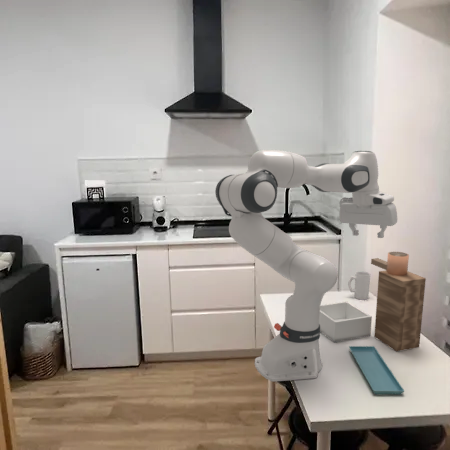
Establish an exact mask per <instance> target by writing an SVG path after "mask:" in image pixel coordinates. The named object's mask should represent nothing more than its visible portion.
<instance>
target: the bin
mask: <svg viewBox="0 0 450 450" xmlns="http://www.w3.org/2000/svg"><path fill="white" fill-rule="evenodd" d="M372 318H373V317H372V315H370V313H369V314H368V313H367V312H365V311H364V310H362V309H360V308H358V307H357V306H356V305H353V304H352V303H350V302H349V301H339V302H334V303H333V302H332V303H328V304H327V303H326V304H321V305H320V315H319V324H320V331H321V332H320V333H322V334H323V335H324V336H325V335H326V338H328V340H330V341H332V342H333V343H339V342H345V341H350V340H357V339H360V338H361V339H362V338H367V337H368V338H369V337H371V336H372V334H371V330H372V321H373V320H372Z"/></svg>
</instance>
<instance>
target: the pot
mask: <svg viewBox="0 0 450 450" xmlns="http://www.w3.org/2000/svg"><path fill="white" fill-rule="evenodd" d="M409 257H410V255H409V254H408V253H406V252H401V251H389V252H387V261H386V260H384V259H381V258H378V257H377V258H371V260H370V261H371V262H370V264H371V265H373V266H376V267H377V268H380V269H382V270H384V271H386V270H387V273H388V274H391V275H396V276H405V275H407V272H409V271H408V268H409Z"/></svg>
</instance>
